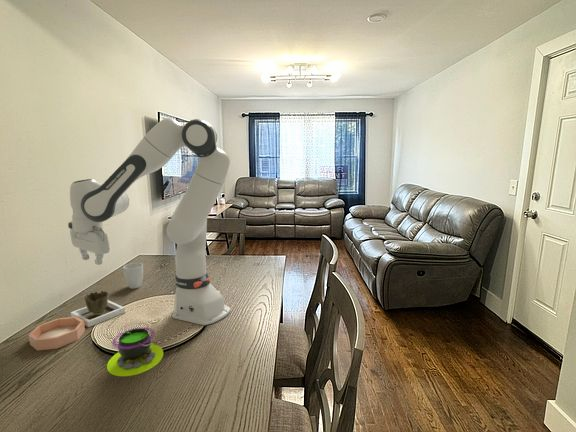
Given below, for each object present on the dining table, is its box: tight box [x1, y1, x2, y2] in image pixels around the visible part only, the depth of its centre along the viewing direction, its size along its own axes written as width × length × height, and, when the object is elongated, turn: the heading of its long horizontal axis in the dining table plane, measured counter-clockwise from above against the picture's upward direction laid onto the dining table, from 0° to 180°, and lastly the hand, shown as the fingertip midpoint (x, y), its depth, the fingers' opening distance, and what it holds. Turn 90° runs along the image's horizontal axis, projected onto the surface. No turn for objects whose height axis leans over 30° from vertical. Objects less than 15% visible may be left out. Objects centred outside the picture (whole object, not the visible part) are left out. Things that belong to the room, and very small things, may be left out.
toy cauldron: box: [106, 320, 164, 377], centre depth 91 cm, size 15×15×11 cm
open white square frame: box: [70, 299, 126, 328], centre depth 118 cm, size 13×13×2 cm
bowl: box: [28, 316, 86, 351], centre depth 103 cm, size 14×14×4 cm
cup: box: [122, 262, 144, 290], centre depth 144 cm, size 8×8×10 cm
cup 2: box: [84, 290, 109, 317], centre depth 118 cm, size 8×7×8 cm
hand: (92, 261), depth 115 cm, fingers open, 8 cm apart
